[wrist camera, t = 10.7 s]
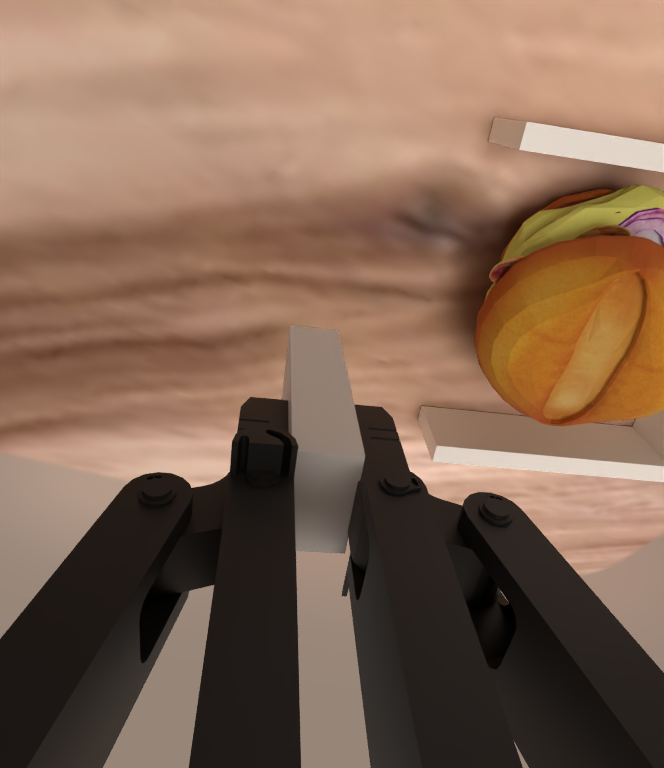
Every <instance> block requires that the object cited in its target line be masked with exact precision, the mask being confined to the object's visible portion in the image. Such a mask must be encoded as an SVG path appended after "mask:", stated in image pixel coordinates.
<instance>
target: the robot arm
mask: <svg viewBox="0 0 664 768" xmlns="http://www.w3.org/2000/svg"><path fill="white" fill-rule="evenodd" d="M348 537H349V545H350V557H349V562H348V566H347V571H346V576H345V580H344V585H343V591H342V596H347V593H348V588H349V592H350V600H351V609H352V616H353V625H354V633H355V642H356V649H357V657H358V666H359V675H360V683H361V691H362V699H363V708H364V716H365V724H366V732H367V740H368V749H369V757H370V765H371V768H523V767H522V764H521V761H520V758H519V755H518V752H517V749H516V747H515V744H514V742H515V743H516V745H517V747H518V749H519V751H520V752H521V754H522V756H523V758H524V759H525V761H526V763H527V765H528V766H529V768H664V673H663V672H662V670H660V668H659V667H658V666H657V665H656V664H655V662H654V661H653V660H652V659H651V658H650V657H649V655H648V654H647V653H646V652H645V651H644V650H643V649H642V647H641V646H640V645H639V644H638V643H637V642H636V640H635V639H634V638H633V637H632V636H631V635H630V634H629V632H628V631H627V630H626V629H625V628H624V627H623V626H622V624H621V623H620V622H619V621H618V620H617V619H616V618H615V616H614V615H613V614H612V613H611V612H610V611H609V609H608V608H607V607H606V606H605V605H604V604H603V603H602V601H601V600H600V599H599V598H598V597H597V596H596V595H595V593H594V592H593V591H592V590H591V589H590V588H589V587H588V585H587V584H586V583H585V582H584V581H583V580H582V578H581V577H580V576H579V575H578V574H577V573H576V571H575V570H574V569H573V568H572V567H571V566H570V565H569V563H568V562H567V561H566V560H565V559H564V558H563V557H562V555H561V554H560V553H559V552H558V551H557V550H556V548H555V547H554V546H553V545H552V544H551V543H550V542H549V540H548V539H547V538H546V537H545V536H544V535H543V534H542V532H541V531H540V530H539V529H538V528H537V527H536V526H535V524H534V523H533V522H532V521H531V520H530V519H529V517H528V516H527V515H526V514H525V513H524V512H523V511H522V509H520V508H519V507H518V506H517V505H516V504H515V503H513V502H512V501H510V500H508V499H506V498H504V497H503V496H500V495H496V494H493V493H486V492H478V493H474V494H471V495H469V496H468V497H467V498H466V499H465V500H464V503H463V506H462V505H458V504H455V503H451V502H448V501H444V500H442V499H439V498H436V497H434V496H432V495H430V494H428V491H427V488H426V486H425V484H424V483H423V481H422V480H421V479H420V478H419V477H418V476H416V475H415V474H414V473H412V472H410V470H409V467H408V464H407V461H406V458H405V455H404V452H403V449H402V445H401V442H400V441H399V436H398V433H397V432H396V427H395V424H394V420H393V418H392V417H391V416H390V415H389V414H388V413H387V412H386V411H385V410H384V409H383V408H382V407H375V406H364V405H354V401H353V396H352V392H351V387H350V382H349V377H348V373H347V368H346V363H345V359H344V354H343V349H342V344H341V340H340V335H339V330H333V329H323V328H314V327H304V326H295V325H290V331H289V340H288V349H287V357H286V366H285V375H284V384H283V392H282V400H278V399H266V398H255V397H250V398H249V399H248V400H247V401H246V402H245V403H244V404H243V405H242V406H241V410H240V417H239V424H238V431H237V434H236V435H235V437H234V439H233V441H232V451H231V465H230V472H229V473H228V474H227V476H225V477H224V478H223V479H221V480H220V481H217V482H215V483H213V484H210V485H206V486H201V487H195V488H191V486H190V484H189V483H188V482H187V481H186V480H185V479H183V478H182V477H179V476H177V475H174V474H171V473H160V472H157V473H150V474H144V475H142V476H140V477H137V478H135V479H133V480H131V481H130V482H129V483H128V484H127V485H125V486H124V487H123V489H122V490H121V491H120V492H119V494H118V495H117V496H116V497H115V499H114V500H113V501H112V502H111V504H110V505H109V506H108V507H107V509H106V510H105V511H104V512H103V513H102V514H101V516H100V517H99V518H98V519H97V521H96V522H95V523H94V524H93V526H92V527H91V528H90V529H89V530H88V532H87V533H86V534H85V536H84V537H83V538H82V539H81V540H80V542H79V543H78V544H77V545H76V546H75V548H74V549H73V550H72V551H71V553H70V554H69V555H68V556H67V558H66V559H65V560H64V561H63V562H62V564H61V565H60V566H59V567H58V569H57V570H56V571H55V572H54V574H53V575H52V576H51V577H50V578H49V580H48V581H47V582H46V584H45V585H44V586H43V587H42V588H41V590H40V591H39V592H38V593H37V595H36V596H35V597H34V598H33V599H32V601H31V602H30V603H29V604H28V606H27V607H26V608H25V609H24V611H23V612H22V613H21V614H20V616H19V617H18V618H17V619H16V621H15V622H14V623H13V624H12V625H11V627H10V628H9V629H8V630H7V631H6V633H5V634H4V635H3V636H2V638H1V639H0V768H103V766H104V764H105V762H106V760H107V758H108V756H109V754H110V752H111V750H112V748H113V746H114V744H115V742H116V740H117V738H118V736H119V734H120V732H121V730H122V728H123V726H124V724H125V722H126V720H127V718H128V716H129V714H130V712H131V710H132V708H133V706H134V704H135V702H136V700H137V698H138V696H139V694H140V692H141V690H142V688H143V685H144V684H145V682H146V680H147V678H148V676H149V674H150V672H151V670H152V668H153V666H154V664H155V662H156V660H157V658H158V656H159V654H160V652H161V650H162V648H163V646H164V644H165V642H166V640H167V637H168V636H169V634H170V632H171V630H172V628H173V626H174V623H175V622H176V620H177V618H178V616H179V614H180V612H181V610H182V608H183V605H184V604H185V602H186V600H187V597H188V593H189V591H190V590H194V589H198V588H202V587H206V586H211V585H214V592H213V599H212V606H211V614H210V620H209V628H208V635H207V641H206V649H205V656H204V663H203V670H202V677H201V685H200V691H199V699H198V706H197V713H196V720H195V728H194V734H193V741H192V749H191V756H190V763H189V768H301V750H300V710H299V709H300V708H299V666H298V625H297V586H296V585H297V584H296V551H305V552H326V553H345V551H346V546H347V541H348ZM500 591H502V593H503V594H504V596H505V597H506V599H507V600H508V601H507V600H506V599H505V597H504V596H503V595H502V593H501V592H500ZM513 740H514V741H513Z"/></svg>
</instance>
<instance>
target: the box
mask: <svg viewBox="0 0 664 768" xmlns="http://www.w3.org/2000/svg"><path fill="white" fill-rule="evenodd" d="M488 142H492V143H495V144H499V145H503V146H507V147H510V148H514V149H518V150H524V151H530V152H536V153H543V154H549V155H556V156H562V157H568V158H575V159H581V160H588V161H594V162H600V163H607V164H613V165H620V166H626V167H632V168H639V169H645V170H652V171H658V172H664V144H662V143H655V142H649V141H643V140H637V139H631V138H625V137H618V136H612V135H606V134H600V133H594V132H588V131H582V130H575V129H569V128H563V127H557V126H551V125H545V124H538V123H532V122H526V121H518V120H511V119H503V118H496V117H494V121H493V125H492V128H491V132H490V136H489V140H488ZM418 423H419V426H420V428H421V431H422V434H423V437H424V440H425V442H426V445H427V448H428V451H429V454H430V457H431V459H432V462H441V463H453V464H464V465H476V466H487V467H498V468H510V469H521V470H533V471H544V472H555V473H567V474H578V475H589V476H601V477H612V478H624V479H635V480H646V481H658V482H664V410H663V411H660V412H658V413H655V414H653V415H650V416H648V417H643V418H637V419H636V420H635V422H634V424H633V426H632V427H629V426H619V425H609V424H599V423H584V424H577V425H571V426H550V425H546V424H542V423H540V422H538V421H536V420H535V419H533V418H531V417H529V416H519V415H509V414H498V413H488V412H478V411H468V410H458V409H448V408H438V407H428V406H421V410H420V414H419V418H418Z"/></svg>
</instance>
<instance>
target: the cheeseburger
mask: <svg viewBox="0 0 664 768" xmlns="http://www.w3.org/2000/svg"><path fill="white" fill-rule="evenodd" d="M489 278H490V280H491V281H492V282H493V284H492V286H491V287H490V288H489V290H488V291H487V294H486V298H485V301H484V303H483V305H482V307H481V309H480V311H479V313H478V316H477V324H476V332H475V339H474V342H475V346H476V351H477V356H478V361H479V365H480V367H481V369H482V371H483V373H484V374H485V376H486V377H487V379H488V381H489V382H490V384H491V385H492V387H493V388H494V389H495V390H496V392H497V393H498V394H499V395H500V396H501V398H502V399H503V400H504V401H506V402H507V403H508V404H509V405H511V406H512V407H513V408H515V409H516V410H517V411H519V412H520V413H522V414H524V415H527V416H529V417H531V418H533V419H535V420H536V421H538V422H540V423H542V424H546V425H550V426H571V425H577V424H584V423H595V422H607V421H624V420H631V419H637V418H643V417H648V416H650V415H653V414H655V413H658V412H660V411H663V410H664V192H663V191H661V190H660V189H657V188H653V187H649V186H645V185H631V186H628V187H625V188H623V189H620V190H618V191H614V190H607V189H598V190H593V191H588V192H583V193H579V194H574V195H569V196H564V197H561V198H559V199H558V200H556V201H554V202H553V203H551V204H550V205H548V206H547V207H545V208H543V209H542V210H540V211H539V212H537V213H536V214H534V215H533V216H531V217H529V218H528V219H526V220H525V222H524V223H523V224H522V226H521V227H520V228H519V230H518V231H517V232H516V234H515V235H514V237H513V238H512V239H511V241H510V242H509V243H508V245H507V246H506V247H505V249H504V250H503V251H502V254H501V258H500V261H499V263H498V264H496V265H495V266H494V267H493V269H492V270H491V272H490V275H489Z"/></svg>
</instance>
